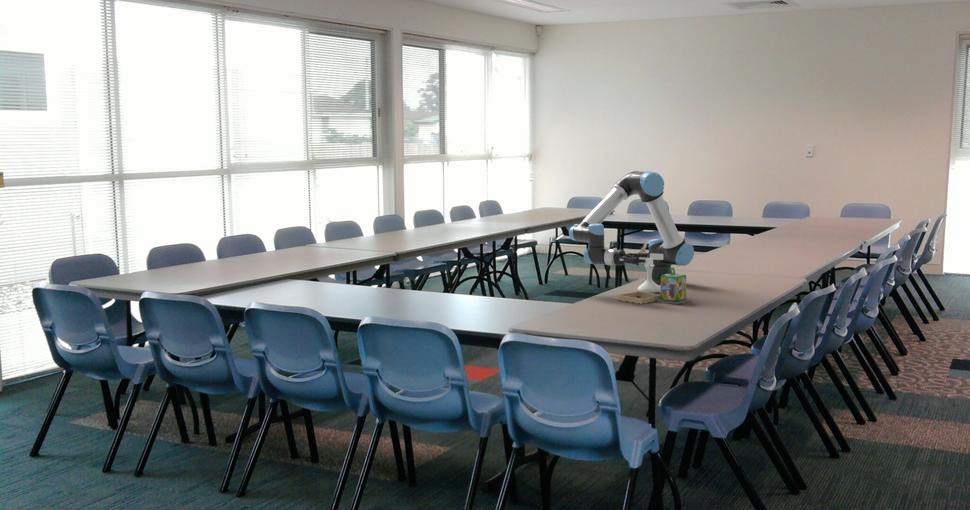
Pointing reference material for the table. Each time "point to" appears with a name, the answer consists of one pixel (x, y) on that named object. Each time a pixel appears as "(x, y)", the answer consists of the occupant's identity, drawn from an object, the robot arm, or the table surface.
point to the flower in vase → (648, 278)
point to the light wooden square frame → (631, 296)
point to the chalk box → (673, 286)
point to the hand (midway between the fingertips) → (658, 259)
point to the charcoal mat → (673, 301)
